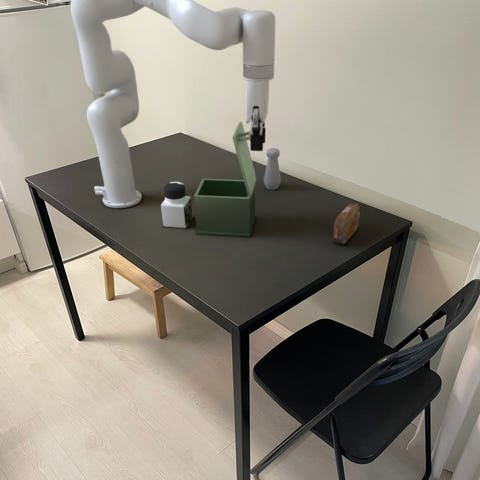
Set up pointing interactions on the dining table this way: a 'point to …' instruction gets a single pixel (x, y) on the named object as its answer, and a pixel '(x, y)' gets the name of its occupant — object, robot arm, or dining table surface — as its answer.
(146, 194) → the dining table surface
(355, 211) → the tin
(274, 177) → the salt shaker
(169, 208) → the medicine bottle
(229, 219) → the bin
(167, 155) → the dining table surface
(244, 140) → the bin lid
